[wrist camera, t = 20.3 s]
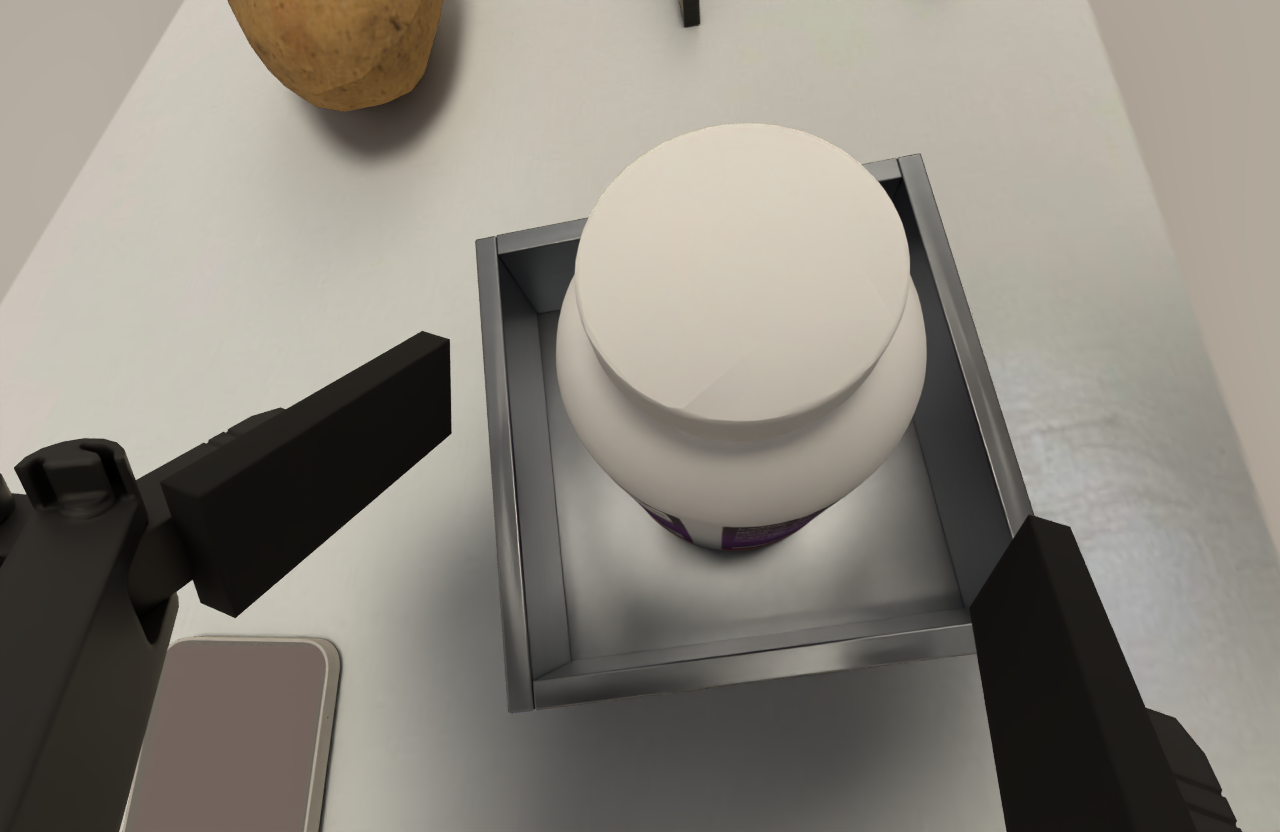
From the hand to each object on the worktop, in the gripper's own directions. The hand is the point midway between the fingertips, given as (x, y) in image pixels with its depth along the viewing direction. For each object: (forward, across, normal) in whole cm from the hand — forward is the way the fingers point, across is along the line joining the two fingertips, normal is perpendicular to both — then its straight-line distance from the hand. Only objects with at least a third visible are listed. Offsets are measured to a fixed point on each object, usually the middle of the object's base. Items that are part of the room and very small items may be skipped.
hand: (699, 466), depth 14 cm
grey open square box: (+10, 0, -6) cm, 11 cm away
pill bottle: (+9, 0, -5) cm, 10 cm away
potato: (+20, -24, +5) cm, 31 cm away
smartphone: (-5, -13, -20) cm, 24 cm away
